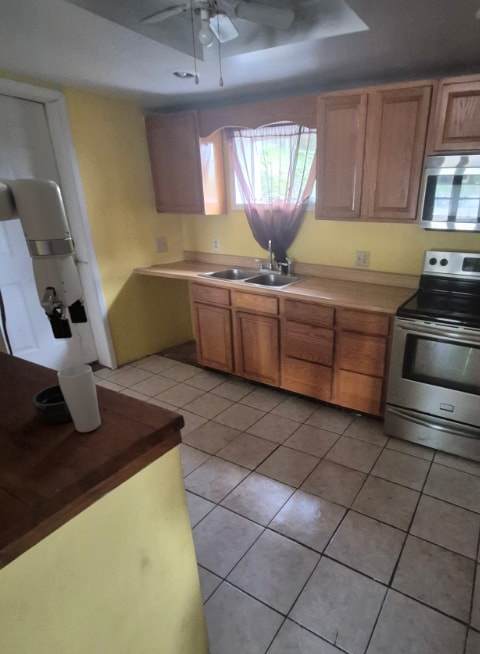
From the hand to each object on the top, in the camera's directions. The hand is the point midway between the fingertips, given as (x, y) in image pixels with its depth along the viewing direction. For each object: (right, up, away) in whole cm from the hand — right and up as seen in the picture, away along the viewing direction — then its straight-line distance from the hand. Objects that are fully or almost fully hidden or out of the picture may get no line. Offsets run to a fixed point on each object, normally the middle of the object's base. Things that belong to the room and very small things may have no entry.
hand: (72, 329), depth 79 cm
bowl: (-11, -20, +14) cm, 27 cm away
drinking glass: (-1, -23, +9) cm, 24 cm away
